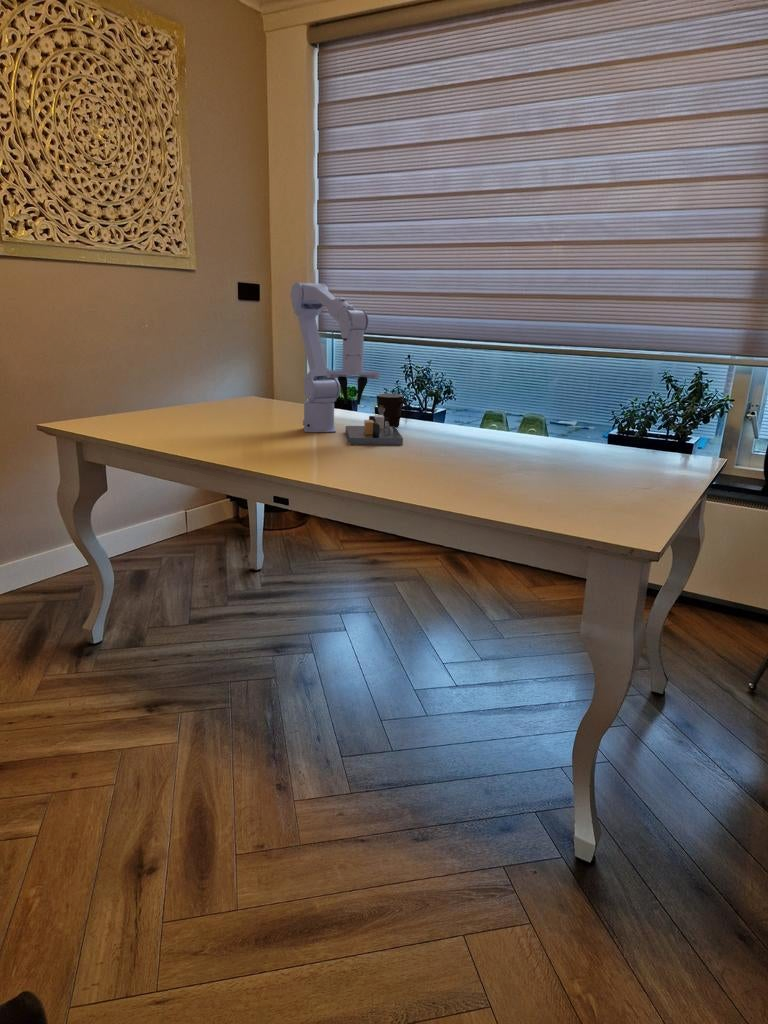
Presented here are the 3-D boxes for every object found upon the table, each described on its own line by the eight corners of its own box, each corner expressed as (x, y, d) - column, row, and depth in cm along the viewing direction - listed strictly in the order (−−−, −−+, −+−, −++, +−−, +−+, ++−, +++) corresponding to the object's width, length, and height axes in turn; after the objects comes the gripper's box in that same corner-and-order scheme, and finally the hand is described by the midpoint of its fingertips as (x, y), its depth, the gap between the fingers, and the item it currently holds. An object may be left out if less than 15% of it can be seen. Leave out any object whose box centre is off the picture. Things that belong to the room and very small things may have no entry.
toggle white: (375, 428, 198) (376, 417, 197) (374, 426, 202) (374, 414, 201) (383, 428, 199) (384, 417, 198) (382, 426, 202) (382, 414, 201)
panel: (349, 444, 185) (350, 423, 183) (345, 432, 202) (345, 412, 200) (402, 445, 187) (403, 424, 185) (394, 432, 204) (394, 413, 202)
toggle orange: (365, 434, 189) (365, 422, 188) (364, 431, 193) (364, 419, 192) (373, 434, 190) (374, 422, 189) (372, 431, 193) (372, 420, 192)
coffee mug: (372, 424, 217) (373, 393, 213) (397, 423, 219) (398, 393, 216) (383, 431, 206) (384, 398, 203) (409, 430, 209) (410, 398, 205)
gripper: (327, 355, 179) (327, 405, 184) (380, 356, 181) (379, 406, 185) (326, 353, 186) (326, 402, 190) (377, 354, 188) (376, 402, 192)
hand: (352, 404), depth 188 cm, fingers open, 3 cm apart
